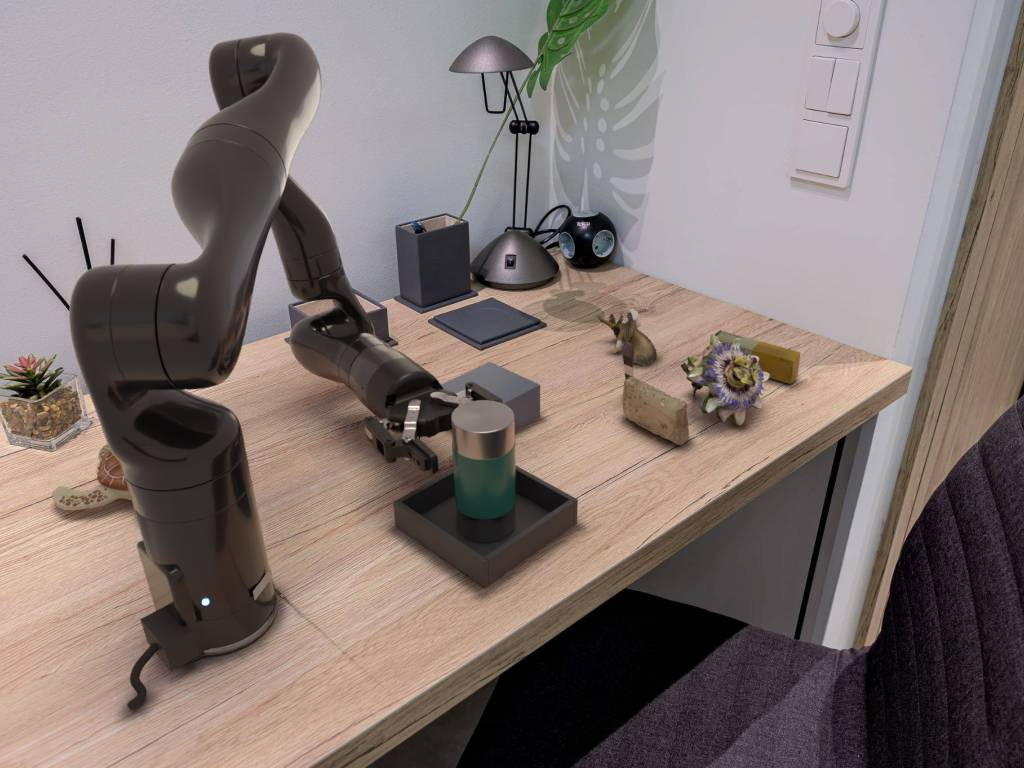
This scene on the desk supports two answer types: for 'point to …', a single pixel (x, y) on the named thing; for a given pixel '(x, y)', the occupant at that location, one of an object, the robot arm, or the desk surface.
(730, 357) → the passion flower
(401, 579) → the desk surface
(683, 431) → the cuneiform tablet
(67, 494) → the decorative turtle
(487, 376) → the stand
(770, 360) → the medication box
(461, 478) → the can
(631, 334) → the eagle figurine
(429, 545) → the tray
